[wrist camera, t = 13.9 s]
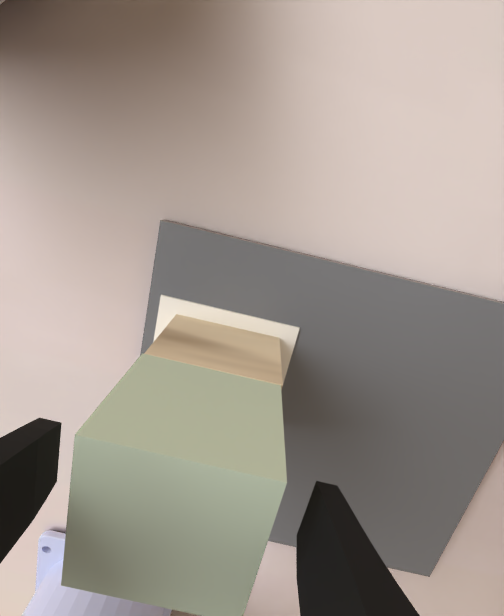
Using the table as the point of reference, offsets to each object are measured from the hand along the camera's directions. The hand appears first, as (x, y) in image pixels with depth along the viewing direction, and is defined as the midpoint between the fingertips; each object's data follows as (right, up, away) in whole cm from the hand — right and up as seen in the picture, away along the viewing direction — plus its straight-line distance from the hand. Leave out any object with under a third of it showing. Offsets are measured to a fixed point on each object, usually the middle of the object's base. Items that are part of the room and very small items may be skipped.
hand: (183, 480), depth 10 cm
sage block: (0, +1, +2) cm, 2 cm away
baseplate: (+5, -1, +7) cm, 9 cm away
